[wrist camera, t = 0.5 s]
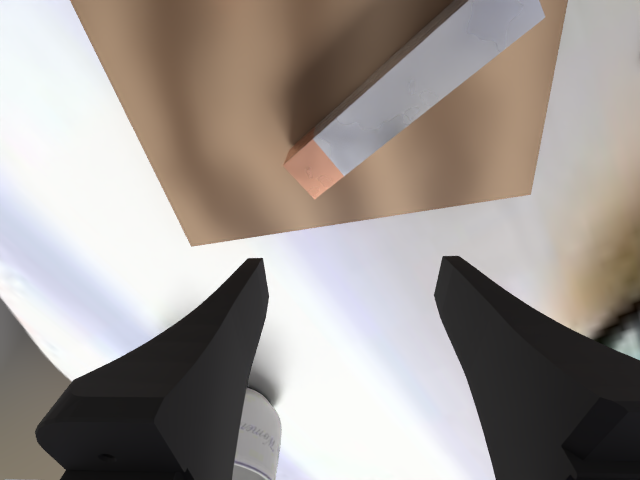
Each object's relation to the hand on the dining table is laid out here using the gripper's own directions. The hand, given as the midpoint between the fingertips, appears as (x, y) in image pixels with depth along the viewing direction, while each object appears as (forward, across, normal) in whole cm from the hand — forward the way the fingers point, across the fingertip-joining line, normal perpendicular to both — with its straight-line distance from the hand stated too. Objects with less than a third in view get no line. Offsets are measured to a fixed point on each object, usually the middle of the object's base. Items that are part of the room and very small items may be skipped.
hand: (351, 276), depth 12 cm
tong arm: (+8, -2, -6) cm, 10 cm away
